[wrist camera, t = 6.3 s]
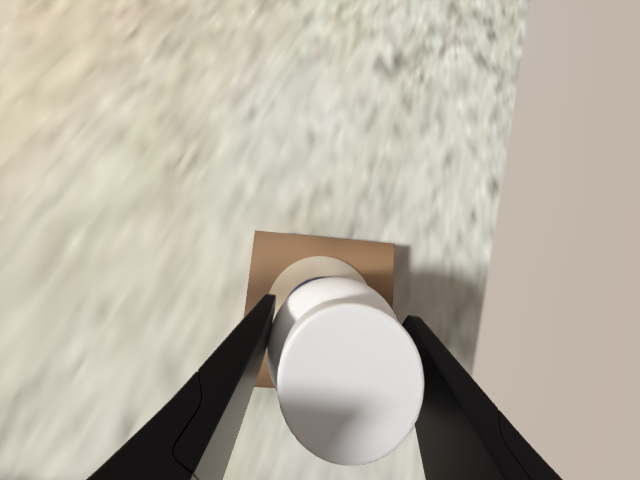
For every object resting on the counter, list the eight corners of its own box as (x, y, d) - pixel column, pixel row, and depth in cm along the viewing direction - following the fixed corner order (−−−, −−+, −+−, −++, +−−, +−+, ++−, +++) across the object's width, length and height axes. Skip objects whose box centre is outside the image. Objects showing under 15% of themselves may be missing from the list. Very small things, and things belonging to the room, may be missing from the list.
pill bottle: (364, 281, 16) (457, 292, 6) (355, 361, 15) (448, 512, 6) (289, 270, 16) (269, 264, 6) (275, 351, 15) (228, 492, 5)
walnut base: (378, 377, 19) (390, 395, 16) (244, 370, 18) (234, 387, 15) (383, 247, 20) (395, 243, 18) (260, 235, 20) (254, 230, 17)
